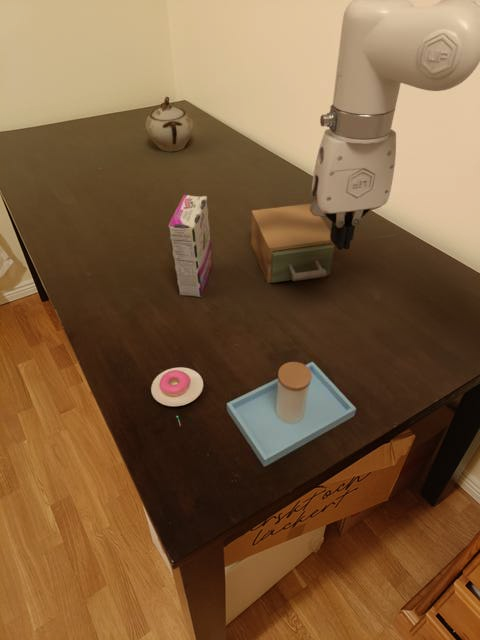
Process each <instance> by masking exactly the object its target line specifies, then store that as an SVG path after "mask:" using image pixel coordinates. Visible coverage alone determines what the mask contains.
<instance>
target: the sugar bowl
mask: <svg viewBox="0 0 480 640" xmlns="http://www.w3.org/2000/svg"><path fill="white" fill-rule="evenodd" d="M144 126H145V131H146V134H147V136H148V137H149V139H150V140H151V141H152V142H153V143H154V144H155V145H156V146H157V147H158V148H159V149H160V150H161V151H164V152H171V153H172V152H174V153H175V152H179V151H181V150H183V149H185V147H186V145H187V143H188V142H189V140H190V138H191V136H192V134H193V132H194V121H193V119H192V116H191V115H190V114H189V113H188V112H187V111H186V110H184V109H183V108H181V107H177V106H176V107H175V106H173V105H172V106H171V105H170V97H169V96H165V97H164V102H162V103H161V104H160V107H159V108H156V109H153V110H152V111H151V112H150V113H149V115H148V117H147V118H146V120H145V125H144Z"/></svg>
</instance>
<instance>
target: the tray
mask: <svg viewBox="0 0 480 640" xmlns="http://www.w3.org/2000/svg"><path fill="white" fill-rule="evenodd" d="M305 365H306V366H307V367H308V368H309V370H310V371H311V374H312V378H311V383H310V385H309V391H308V397H307V403H306V408H305V414H304V417H303V419H302V420H301V421H300V422H298V423H295V424H288V423H284V422H282V421H281V420H280V419H279V418H278V417H277V415H276V400H277V389H278V378H276V379H273V380H271V381H270V382H268V383H266V384H264V385H262V386H258V387H257V388H256V389H253V390H251V391H249V392H247V393H245V394H243V395H241V396H238V397H237V398H235V399H233V400H231V401H228V402H226V412H227V413H228V415H229V416H230V418H231V419H232V421H233V422H234V424H235V425H236V427H237V428H238V430H239V432H240V433H241V434H242V436H243V437H244V439H245V440H246V442H247V444H248V445H249V446H250V448H251V450H252V451H253V452H254V454H255V455H256V457H257V459H258V461H260V464H262V466H263V467H265V468H266V467H267V466H269V465H271V464H272V463H275V462H276V461H278V460H279V459H281V458H282V457H285V456H287V455H288V454H290V453H292V452H293V451H295V450H297V449H299V448H301V447H302V446H304V445H306V444H307V443H310V442H311V441H313V440H315V439H316V438H318V437H320V436H322V435H323V434H325V433H327V432H329V431H331V430H332V429H334V428H336V427H337V426H339V425H341V424H343V423H345V422H346V421H348V420H350V419H351V418H353V417H355V414H356V411H357V408H356V407H355V405H353V403H352V402H351V401H350V400H349V399H348V398H347V397H346V396H345V395H344V394H343V392H342V391H341V390H340V389H339V388H338V387H337V386H336V385H335V383H333V382H332V381H331V380H330V378H328V376H327V375H326V374H325V372H323V371H322V370H321V369H320V368H319V367H318V366H317V364H316V363H314V361H311V362H308V363H307V364H305Z"/></svg>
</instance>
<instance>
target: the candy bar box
mask: <svg viewBox="0 0 480 640" xmlns="http://www.w3.org/2000/svg"><path fill="white" fill-rule="evenodd" d="M208 205H209V203H208V196H206V195H193V194H192V195H191V194H183V195H182V197H181V200H180V202H179V203H178V205H177V208H176V209H175V211H174V213H173V215H172V217H171V219H170V221H169V223H168V225H167V227H168V233H169V239H170V246H171V250H172V258H173V263H174V270H175V276H176V281H177V288H178V289H177V290H178V294H179V296H183V297H196V298H202V297H203V295H204V291H205V289H206V285H207V283H208V279H209V276H210V274H211V272H212V268H213V265H214V263H213V254H212V253H213V252H212V239H211V228H210V227H211V226H210V216H209V206H208Z"/></svg>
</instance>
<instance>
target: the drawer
mask: <svg viewBox="0 0 480 640" xmlns="http://www.w3.org/2000/svg"><path fill="white" fill-rule="evenodd" d="M334 252H335V246H333V244H328V245H326V244H322V245H315V246H307V247H300V248H292V249H285V250H278V251H273V252H272V261H271V282H272V284H273V283H280V282H287V281H292V282H298V281H299V282H300V281H306V280H312V279H313V280H314V279H321V278H326V277H327V276H328V275H331V269H332V263H333V258H334Z"/></svg>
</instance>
